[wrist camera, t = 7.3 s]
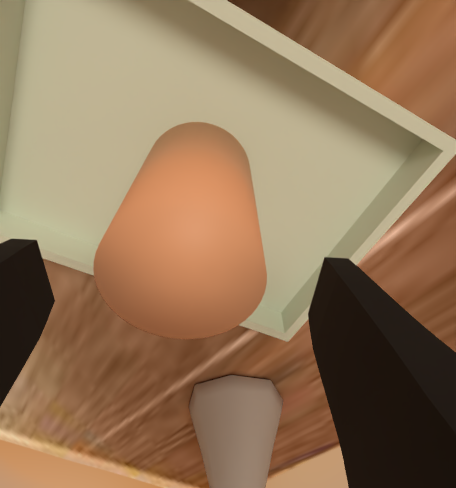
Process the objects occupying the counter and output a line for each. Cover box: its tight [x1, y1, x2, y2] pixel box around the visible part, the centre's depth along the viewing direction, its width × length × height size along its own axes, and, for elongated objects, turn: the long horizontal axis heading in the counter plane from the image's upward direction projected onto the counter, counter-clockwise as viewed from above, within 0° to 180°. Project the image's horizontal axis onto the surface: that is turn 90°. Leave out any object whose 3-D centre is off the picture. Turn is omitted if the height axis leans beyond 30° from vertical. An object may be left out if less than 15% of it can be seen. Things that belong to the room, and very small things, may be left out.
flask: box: [189, 375, 283, 488], centre depth 22 cm, size 7×7×10 cm
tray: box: [0, 0, 456, 342], centre depth 14 cm, size 16×12×2 cm
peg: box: [93, 122, 267, 339], centre depth 12 cm, size 4×4×7 cm
